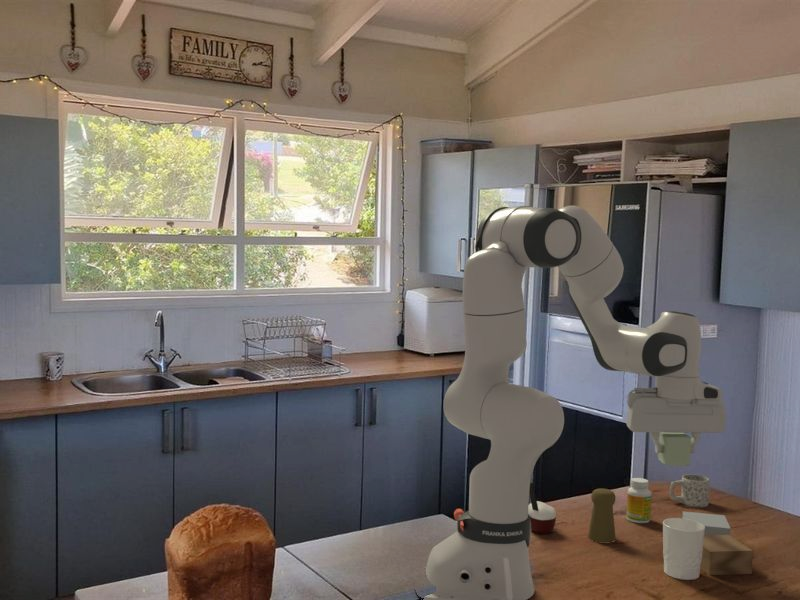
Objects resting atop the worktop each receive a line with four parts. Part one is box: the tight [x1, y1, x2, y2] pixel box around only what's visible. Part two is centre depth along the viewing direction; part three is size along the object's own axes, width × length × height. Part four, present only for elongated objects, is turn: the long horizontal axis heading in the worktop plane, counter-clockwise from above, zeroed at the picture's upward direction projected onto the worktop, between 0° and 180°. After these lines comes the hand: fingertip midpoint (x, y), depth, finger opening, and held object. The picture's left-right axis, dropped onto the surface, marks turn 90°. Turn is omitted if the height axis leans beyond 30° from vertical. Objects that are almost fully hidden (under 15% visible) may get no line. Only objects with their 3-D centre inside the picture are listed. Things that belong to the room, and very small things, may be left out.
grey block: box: [681, 511, 731, 535], centre depth 181 cm, size 9×9×5 cm
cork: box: [587, 488, 617, 543], centre depth 181 cm, size 6×6×11 cm
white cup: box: [662, 517, 705, 581], centre depth 162 cm, size 8×8×10 cm
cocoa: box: [528, 481, 557, 535], centre depth 184 cm, size 10×6×12 cm, turn 111°
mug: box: [669, 473, 711, 508], centre depth 208 cm, size 10×7×7 cm, turn 94°
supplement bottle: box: [626, 477, 652, 524], centre depth 194 cm, size 5×5×10 cm
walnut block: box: [700, 534, 754, 576], centre depth 166 cm, size 9×9×5 cm
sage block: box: [657, 432, 692, 467], centre depth 172 cm, size 5×5×6 cm
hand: (674, 452), depth 172 cm, fingers closed on sage block, 5 cm apart
